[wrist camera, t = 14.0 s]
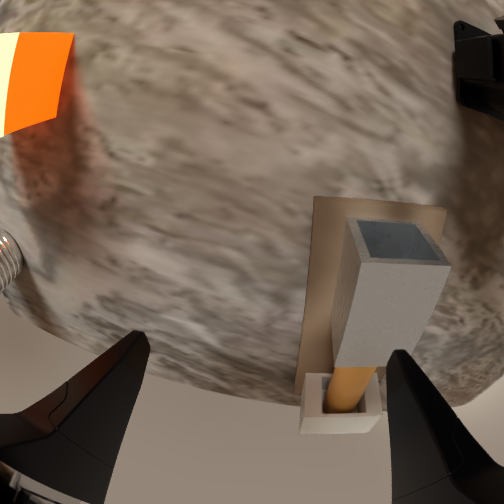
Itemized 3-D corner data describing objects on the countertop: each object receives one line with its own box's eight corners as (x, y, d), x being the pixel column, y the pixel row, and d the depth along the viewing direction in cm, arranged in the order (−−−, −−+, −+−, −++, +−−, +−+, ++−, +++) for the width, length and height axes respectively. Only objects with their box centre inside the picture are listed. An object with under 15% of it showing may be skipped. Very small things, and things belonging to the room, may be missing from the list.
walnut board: (443, 207, 17) (447, 211, 16) (371, 388, 30) (372, 393, 29) (313, 196, 18) (314, 200, 18) (293, 388, 31) (293, 394, 30)
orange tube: (387, 310, 20) (396, 344, 18) (353, 391, 27) (355, 418, 24) (345, 310, 21) (350, 345, 18) (322, 391, 28) (322, 419, 25)
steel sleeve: (420, 221, 17) (451, 266, 13) (391, 315, 22) (404, 365, 17) (346, 216, 18) (361, 262, 13) (330, 314, 23) (334, 367, 18)
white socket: (376, 372, 26) (382, 414, 22) (365, 394, 29) (368, 432, 25) (305, 372, 28) (303, 416, 23) (301, 394, 30) (298, 433, 26)
